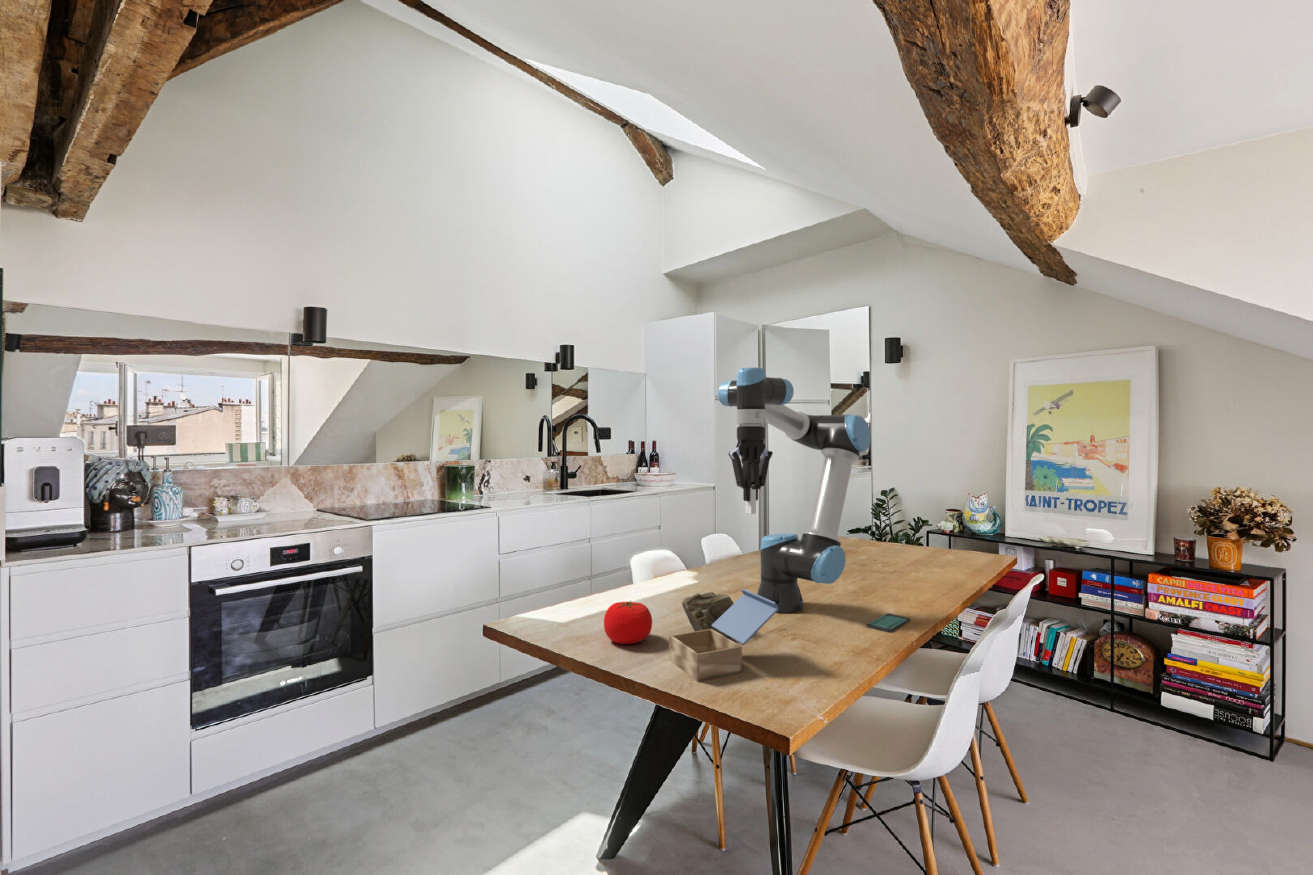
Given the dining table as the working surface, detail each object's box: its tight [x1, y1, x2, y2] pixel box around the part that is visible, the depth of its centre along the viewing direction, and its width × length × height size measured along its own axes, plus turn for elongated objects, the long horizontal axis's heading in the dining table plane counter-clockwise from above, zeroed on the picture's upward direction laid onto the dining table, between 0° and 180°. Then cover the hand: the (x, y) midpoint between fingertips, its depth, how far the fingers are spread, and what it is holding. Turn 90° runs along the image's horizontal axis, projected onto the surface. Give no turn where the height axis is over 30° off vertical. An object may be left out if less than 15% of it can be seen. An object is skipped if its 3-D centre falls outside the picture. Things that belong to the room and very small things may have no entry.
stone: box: [681, 591, 735, 639], centre depth 166 cm, size 16×9×15 cm
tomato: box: [603, 600, 653, 645], centre depth 162 cm, size 14×13×10 cm
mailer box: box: [668, 629, 743, 682], centre depth 144 cm, size 14×12×6 cm
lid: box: [711, 588, 779, 646], centre depth 149 cm, size 14×12×2 cm
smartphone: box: [866, 613, 912, 633], centre depth 176 cm, size 7×1×15 cm
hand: (750, 513), depth 161 cm, fingers closed
